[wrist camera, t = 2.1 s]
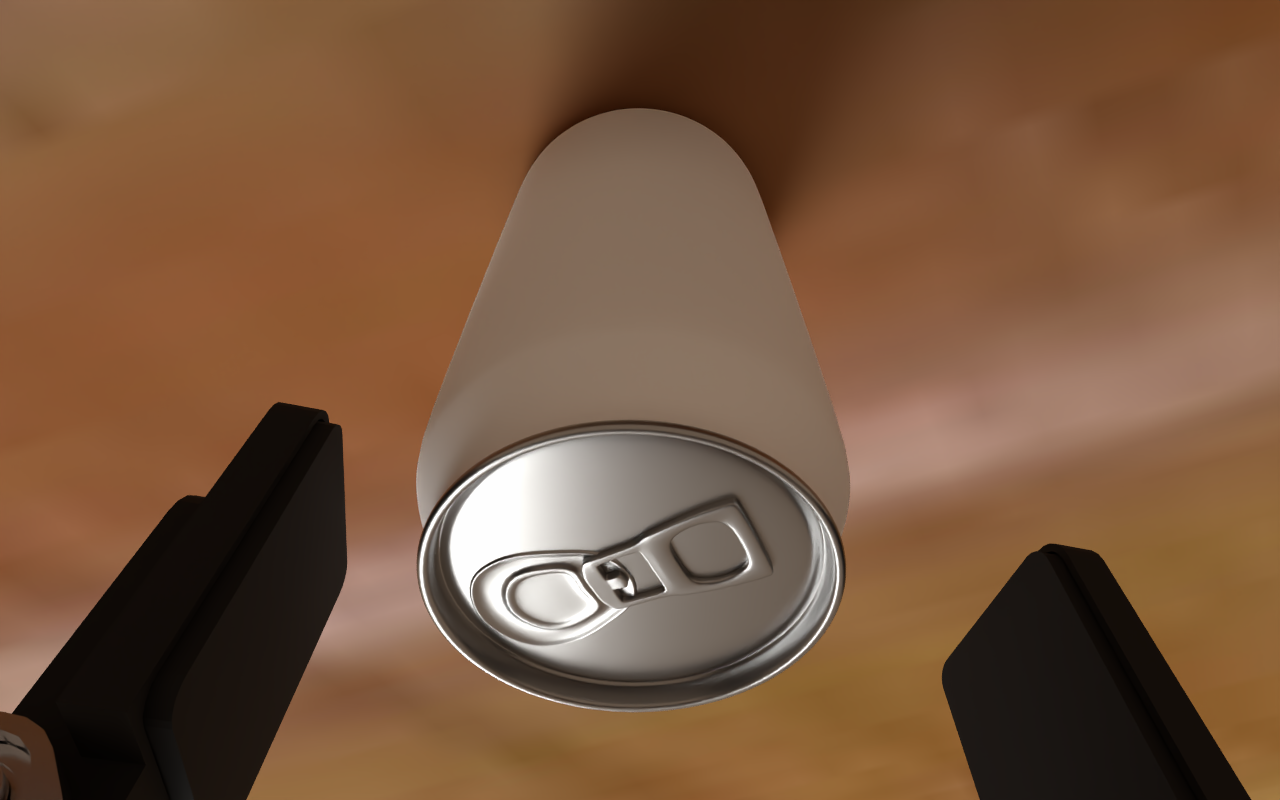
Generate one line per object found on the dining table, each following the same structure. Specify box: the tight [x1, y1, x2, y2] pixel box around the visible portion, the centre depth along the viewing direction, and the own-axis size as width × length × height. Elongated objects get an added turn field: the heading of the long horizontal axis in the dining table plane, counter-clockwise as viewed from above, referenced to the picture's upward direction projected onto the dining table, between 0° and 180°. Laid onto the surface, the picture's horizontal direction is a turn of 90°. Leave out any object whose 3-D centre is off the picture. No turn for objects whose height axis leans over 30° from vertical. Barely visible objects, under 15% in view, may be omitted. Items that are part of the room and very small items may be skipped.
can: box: [416, 108, 850, 712], centre depth 15 cm, size 6×6×12 cm
